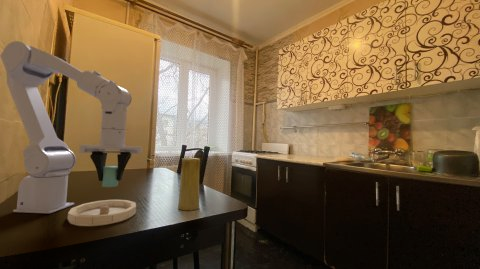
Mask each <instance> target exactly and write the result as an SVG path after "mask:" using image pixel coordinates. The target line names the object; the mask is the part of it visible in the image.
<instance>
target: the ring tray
mask: <svg viewBox="0 0 480 269" xmlns="http://www.w3.org/2000/svg"><path fill="white" fill-rule="evenodd" d="M136 213H137V203H136V202H135V201H131V200H128V199H105V200H95V201H91V202H85V203H82V204H79V205H76V206H74V207H71V208H70V210H69V211H68V212H67V221H68V223H69V224H70V225H73V226H77V227H97V226H105V225H110V224H111V225H113V224H116V223H119V222H123V221H125V220H129V219H130V218H132V217H133V216H134V215H136Z"/></svg>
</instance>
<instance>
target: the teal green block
mask: <svg viewBox="0 0 480 269" xmlns="http://www.w3.org/2000/svg"><path fill="white" fill-rule="evenodd" d="M117 172H118V165H109V166H108V165H107V166H106V165H105V167H103V181H101V183H102V184H101V187H103V188H114V187H118V185H119V181H117Z"/></svg>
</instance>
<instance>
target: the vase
mask: <svg viewBox="0 0 480 269" xmlns="http://www.w3.org/2000/svg"><path fill="white" fill-rule="evenodd" d="M200 168H201V159H200V158H197V157H195V158H193V157H184V158H181V169H180V184H179V196H178V197H179V198H178V205H177V209H178V210H180V211H185V212H188V211H189V212H190V211H196V210H198V209H199V208H200V170H201V169H200Z"/></svg>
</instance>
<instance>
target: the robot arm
mask: <svg viewBox="0 0 480 269" xmlns="http://www.w3.org/2000/svg"><path fill="white" fill-rule="evenodd" d="M0 58H1V61H2V63H3V66H4V69H5V70H6V72H5V73H6V84H7V87H8V89H9V90H8V91H9V93H10V95H11V97H12V99H13V100H12V101H13V102H14V104H15V108H16V109H17V112H18V115H19V117H20V119H21V123H22V126H23V127H24V130H25V132H26V135H27V137H28V140H29V142H30V143H29V144H28V145H27V146H25V148H24V149H23V150H22V154H23V159H24V160H23V167H24V169H25V171H26V172H27V173H28V174H29V175H27V176H25V177H23V178H22V180H20V182H19V184H18V189H17V190H18V192H17V202H16V209H13V210H12V212H13V213H27V214H28V213H30V214H52V213H55V212H57V211H60V210H63V209H66V208H68V207H71V206H74V205H75V202H67V198H68V197H67V196H68V183H69V182H68V181H69V174H70V173H71V170H72V169H73V168H74V167H75V166H76V164H77V157H76V154H75V153H74V152H73V151H72V150H71V149H70V147H69V146H68V144H67V143H66V142H64V141H63V140H61V139H60V138H59V137H58V136H57V133H56V131H55V128H54V126H53V124H52V121H51V119H50V116H49V114H48V111H47V109H46V106H45V104H44V101H43V99H42V96H41V94H40V91H39V89H38V87H39V86H42V85H44V83H45V82H47V81H48V80H49V79H50V78H51V77H52V76H53V75H58V74H61V75H63V76H65V77H66V78H69V79H70V80H73V81H75V82H76V86H77V88H79V89H80V90H81V91H83V92H85V93H87V94H89V95H90V96H92V97H93V98H96V99H97V100H98V101H99V102H100V104H101V108H100V109H101V110H102V111H101V124H100V125H101V127H100V129H101V130H100V141H99V145H95V144H92V145H91V144H80V145H79V149H78V152H79V153H80V154H81V153H82V154H84V153H89V154H90V155H89V157H90V159H91V161H92V163H93V165H94V167H95V170H96V173H97V178H98V181H99V182H102V181H103V167H106V161H107V156H108V154H117V166H118V172H117V181H118V182H119V181H121V180H122V179H123V175H124V172H125V170H126V167H127V165H128V163H129V161H130V158H132V154H134V155H135V154H137V155H141V154H143V146H134V145H133V146H130V145H125V144H126V131H127V128H126V127H127V117H128V116H127V113H128V107H129V106H130V105H131V102H132V94H131V93H130V91H128V90H127V89H126V88H124V87H121V86H119V85H117V82H115V81H114V80H112V79H111V80H108V79H107V78H105V77H103V76H102V73H100V72H98V71H96V70H94V71H91V70H85V71H82V70H80V69H79V68H77V67H75V66H73V65H72V64H70V63H69V62H67V61H65V60H64V59H63V58H60V57H59V56H55V55H53V54H51V53H49V52H46V51H44V50H42V49H39V48H37V47H34V46H32V45H27V44H26V43H25V42H22V41H19V40H14V41H11V42H9V43H8V44H7V45H6V46H4V49H3V50H2V52H1V54H0ZM122 181H123V180H122Z"/></svg>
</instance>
